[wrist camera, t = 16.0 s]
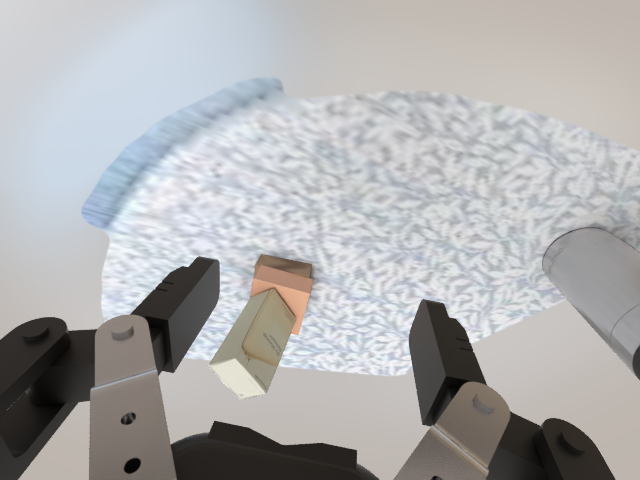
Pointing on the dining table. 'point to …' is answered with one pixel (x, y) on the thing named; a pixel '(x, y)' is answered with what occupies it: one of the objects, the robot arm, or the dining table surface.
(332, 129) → the dining table surface
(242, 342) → the skincare box
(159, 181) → the dining table surface
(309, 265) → the walnut slab
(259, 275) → the terracotta slab
